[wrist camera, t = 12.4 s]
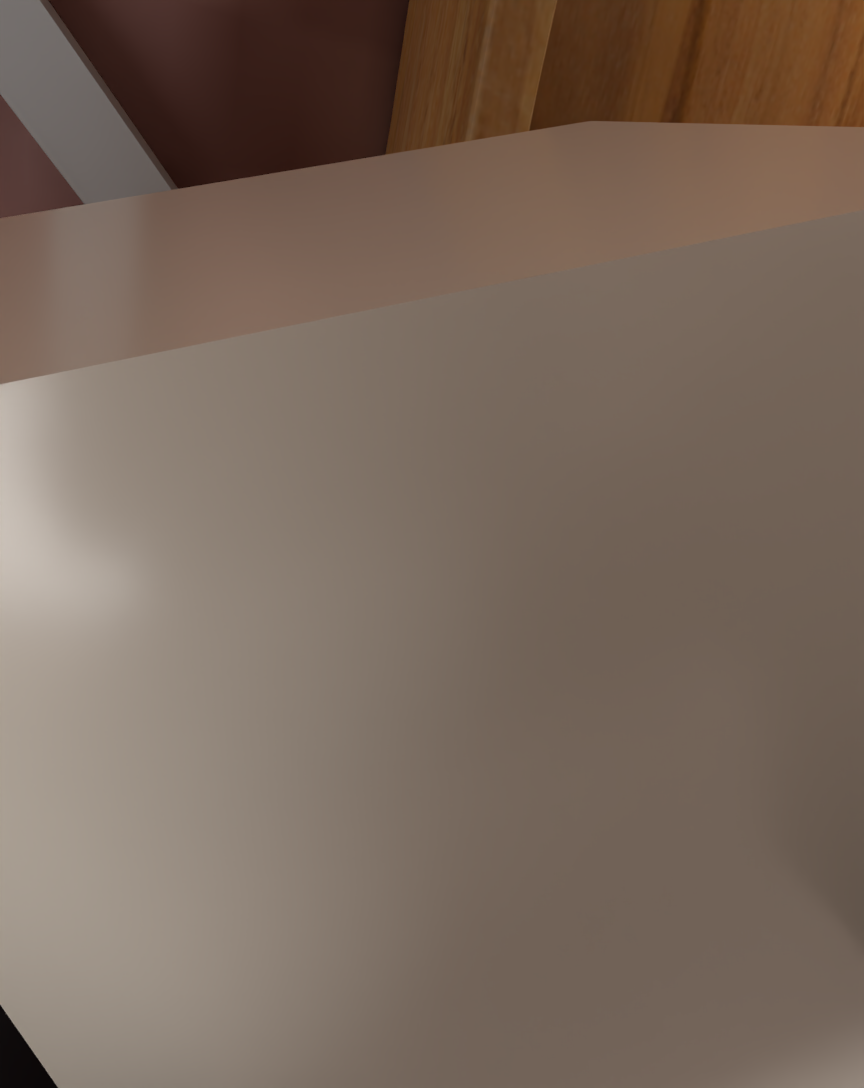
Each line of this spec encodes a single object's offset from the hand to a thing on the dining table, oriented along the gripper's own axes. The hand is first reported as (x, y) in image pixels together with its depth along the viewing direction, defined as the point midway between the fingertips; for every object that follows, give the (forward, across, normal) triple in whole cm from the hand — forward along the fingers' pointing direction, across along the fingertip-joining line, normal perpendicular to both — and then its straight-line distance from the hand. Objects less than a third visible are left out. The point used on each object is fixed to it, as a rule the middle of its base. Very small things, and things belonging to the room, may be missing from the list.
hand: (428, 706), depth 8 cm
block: (+1, 0, 0) cm, 1 cm away
